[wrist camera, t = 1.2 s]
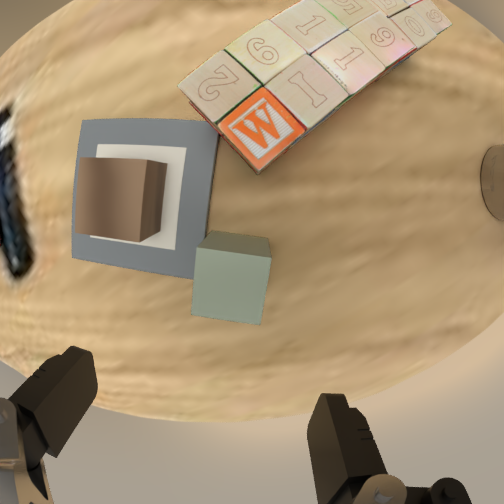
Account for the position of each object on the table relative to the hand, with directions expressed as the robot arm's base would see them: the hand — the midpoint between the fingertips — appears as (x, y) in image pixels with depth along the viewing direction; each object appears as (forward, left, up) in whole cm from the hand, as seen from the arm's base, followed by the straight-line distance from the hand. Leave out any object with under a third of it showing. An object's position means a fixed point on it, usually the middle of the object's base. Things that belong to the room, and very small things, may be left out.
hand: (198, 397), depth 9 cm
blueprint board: (+10, -5, -18) cm, 21 cm away
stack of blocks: (-5, -18, -19) cm, 26 cm away
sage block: (0, 0, -18) cm, 18 cm away
